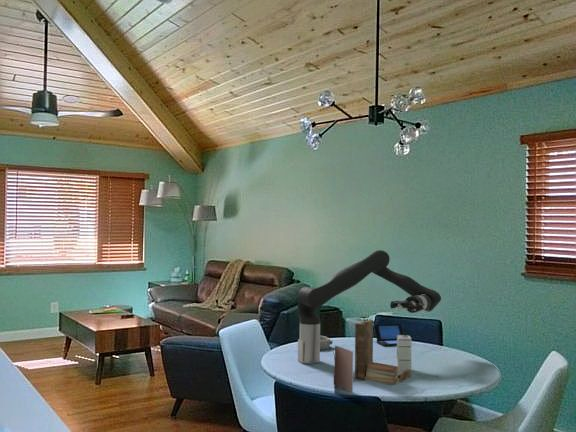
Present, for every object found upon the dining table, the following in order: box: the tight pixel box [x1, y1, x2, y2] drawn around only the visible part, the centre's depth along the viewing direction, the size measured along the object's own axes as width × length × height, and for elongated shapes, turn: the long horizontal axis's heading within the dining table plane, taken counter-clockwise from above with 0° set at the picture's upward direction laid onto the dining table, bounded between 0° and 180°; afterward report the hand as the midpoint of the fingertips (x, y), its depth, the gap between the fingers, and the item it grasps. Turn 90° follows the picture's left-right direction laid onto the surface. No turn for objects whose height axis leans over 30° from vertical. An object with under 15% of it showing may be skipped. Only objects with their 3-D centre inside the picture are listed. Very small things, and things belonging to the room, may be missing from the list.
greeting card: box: [332, 345, 354, 394], centre depth 202 cm, size 11×7×15 cm, turn 175°
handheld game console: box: [373, 323, 404, 348], centre depth 283 cm, size 16×13×9 cm
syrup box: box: [396, 334, 412, 372], centre depth 230 cm, size 6×6×14 cm
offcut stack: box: [365, 361, 400, 386], centre depth 214 cm, size 6×12×6 cm, turn 53°
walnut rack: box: [354, 319, 412, 383], centre depth 218 cm, size 18×16×22 cm
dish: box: [320, 335, 334, 350], centre depth 272 cm, size 14×14×5 cm
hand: (400, 307), depth 236 cm, fingers open, 8 cm apart
